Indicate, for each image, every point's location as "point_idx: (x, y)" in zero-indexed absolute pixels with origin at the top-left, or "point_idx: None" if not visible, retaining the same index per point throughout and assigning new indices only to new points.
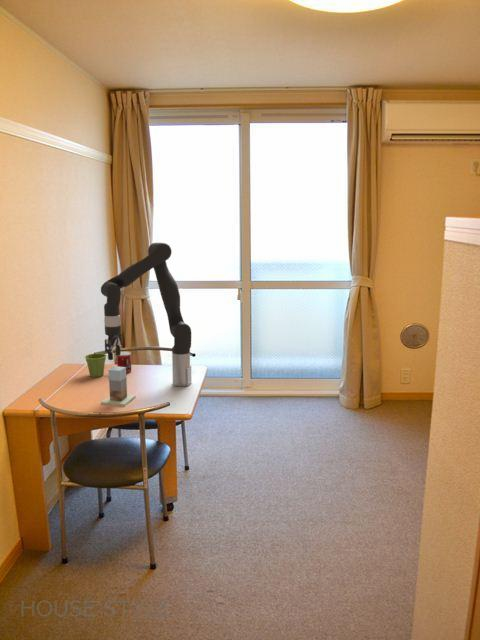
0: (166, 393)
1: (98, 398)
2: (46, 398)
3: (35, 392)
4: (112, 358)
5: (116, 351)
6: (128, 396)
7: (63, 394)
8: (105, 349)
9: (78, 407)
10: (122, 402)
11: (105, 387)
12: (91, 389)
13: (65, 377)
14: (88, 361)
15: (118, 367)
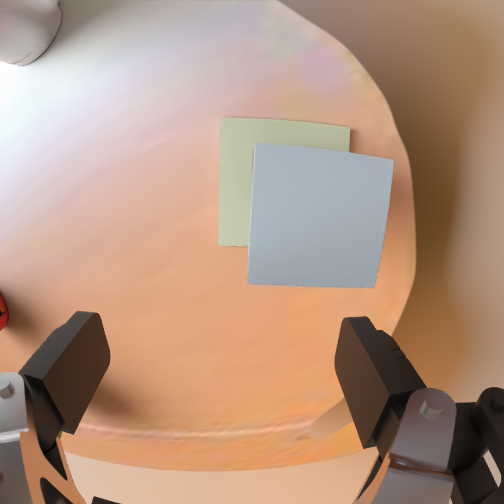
0: (141, 17)
1: (271, 288)
2: (299, 428)
3: (255, 460)
4: (371, 323)
5: (90, 383)
6: (242, 147)
7: (254, 410)
8: (481, 466)
9: (377, 313)
10: (330, 145)
11: (134, 315)
12: (175, 355)
13: (117, 441)
14: (60, 433)
15: (284, 222)
